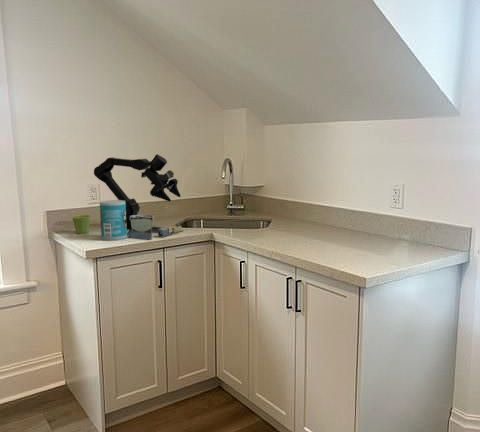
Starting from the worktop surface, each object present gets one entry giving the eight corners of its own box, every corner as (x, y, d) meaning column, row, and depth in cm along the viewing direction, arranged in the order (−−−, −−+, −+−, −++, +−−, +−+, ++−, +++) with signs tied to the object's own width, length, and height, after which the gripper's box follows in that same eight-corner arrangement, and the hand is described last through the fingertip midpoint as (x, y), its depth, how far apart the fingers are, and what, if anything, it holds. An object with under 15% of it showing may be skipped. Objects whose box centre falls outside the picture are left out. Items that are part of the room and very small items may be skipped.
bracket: (125, 237, 238) (125, 231, 238) (146, 231, 252) (146, 225, 252) (150, 239, 231) (149, 233, 230) (170, 233, 245) (170, 227, 245)
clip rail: (157, 237, 236) (157, 229, 236) (178, 231, 252) (178, 223, 251) (162, 238, 235) (162, 229, 234) (183, 231, 250) (182, 224, 250)
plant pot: (77, 235, 243) (76, 218, 241) (69, 233, 250) (68, 216, 248) (94, 233, 249) (93, 216, 247) (87, 230, 256) (86, 214, 254)
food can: (132, 237, 236) (130, 201, 233) (111, 242, 227) (109, 203, 224) (117, 234, 244) (115, 199, 241) (96, 238, 234) (94, 201, 232)
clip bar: (172, 233, 246) (171, 226, 245) (179, 231, 251) (178, 224, 250) (174, 233, 245) (174, 226, 244) (181, 231, 250) (181, 224, 250)
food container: (157, 233, 245) (156, 214, 244) (154, 236, 239) (153, 216, 238) (133, 233, 246) (133, 214, 245) (129, 236, 240) (129, 216, 239)
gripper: (151, 169, 238) (173, 192, 236) (172, 163, 254) (193, 184, 252) (141, 185, 244) (161, 207, 242) (162, 177, 260) (181, 198, 258)
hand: (175, 198), depth 248 cm, fingers open, 9 cm apart
